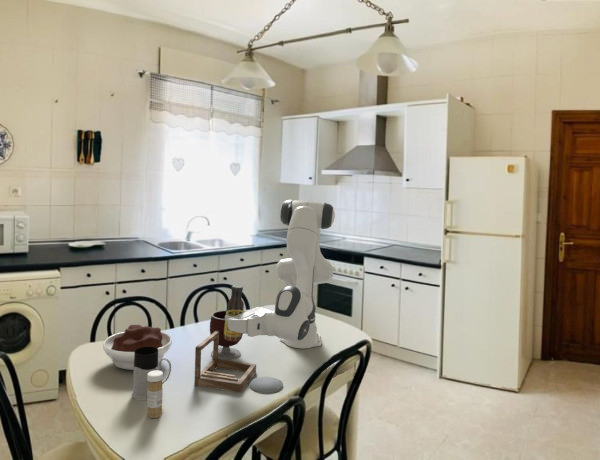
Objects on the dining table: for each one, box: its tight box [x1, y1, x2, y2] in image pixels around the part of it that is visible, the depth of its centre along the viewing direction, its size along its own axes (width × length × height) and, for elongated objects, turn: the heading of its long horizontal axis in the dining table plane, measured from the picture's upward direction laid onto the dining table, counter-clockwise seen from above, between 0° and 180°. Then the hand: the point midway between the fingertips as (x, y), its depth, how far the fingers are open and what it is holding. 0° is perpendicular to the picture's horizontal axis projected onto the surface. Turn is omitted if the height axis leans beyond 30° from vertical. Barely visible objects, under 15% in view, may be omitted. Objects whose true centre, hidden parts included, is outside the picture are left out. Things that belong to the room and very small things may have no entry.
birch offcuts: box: [202, 371, 239, 382], centre depth 163 cm, size 4×12×4 cm, turn 78°
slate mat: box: [248, 376, 284, 394], centre depth 164 cm, size 12×12×1 cm
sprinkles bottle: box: [146, 369, 164, 419], centre depth 139 cm, size 5×5×14 cm
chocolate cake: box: [102, 324, 173, 371], centre depth 175 cm, size 25×25×15 cm
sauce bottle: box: [224, 284, 245, 341], centre depth 166 cm, size 7×6×20 cm
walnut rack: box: [193, 331, 257, 393], centre depth 167 cm, size 18×17×14 cm
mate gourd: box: [209, 309, 244, 361], centre depth 190 cm, size 16×14×20 cm
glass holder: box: [131, 347, 172, 401], centre depth 151 cm, size 9×14×15 cm, turn 69°
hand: (232, 314), depth 166 cm, fingers closed on sauce bottle, 6 cm apart
